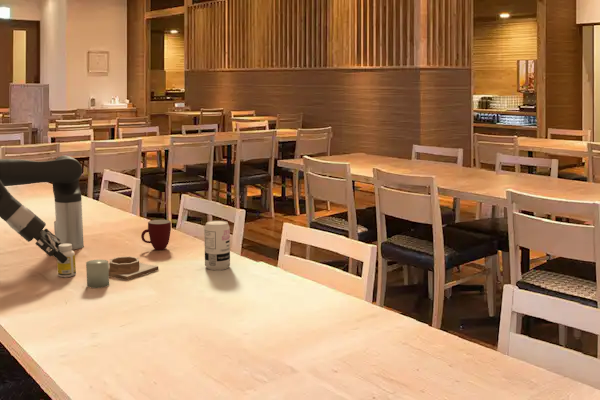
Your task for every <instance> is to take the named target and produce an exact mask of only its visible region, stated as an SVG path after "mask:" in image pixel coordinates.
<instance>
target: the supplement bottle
mask: <svg viewBox="0 0 600 400" xmlns="http://www.w3.org/2000/svg"><path fill="white" fill-rule="evenodd" d="M71 249H72V244H68V243H66V244H60V245H59V250H60V252H61V253H63V254H64V255H65V256H66V257H67V258H68V259H67V260H66V261H65V262H64V263H61V262H60V261H59V260H58V259H56V265H57V266H56V267H57V276H58V277H59V278H68V277H69V278H70V277H71V278H72V277H73V276H75V275H76V274H77V271H76V268H77V267H76V254H75V251H74V250H71Z"/></svg>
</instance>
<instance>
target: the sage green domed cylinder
mask: <svg viewBox="0 0 600 400" xmlns="http://www.w3.org/2000/svg"><path fill="white" fill-rule="evenodd" d="M108 263H109V261H108V260H107V259H91V260H88V261H86V262H85V264H86V265H85V267H86V271H85V272H86V286H87V287H88V288H90V287H91V289H102V288H106V287H108V286H110V277H109V265H108ZM101 287H102V288H101Z"/></svg>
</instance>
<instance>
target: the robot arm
mask: <svg viewBox="0 0 600 400" xmlns="http://www.w3.org/2000/svg"><path fill="white" fill-rule="evenodd" d="M82 175H83V166H82V164H81V163H80V161H78V160H77V159H75V157H73V156H69V155H65V154H64V155H61V156H58V157H56V158H55V159H51V160H45V161H44V160H42V161H41V160H40V161H39V160H37V161H36V160H31V159H30V160H28V159H21V158H19V159H18V158H17V159H16V158H0V219H2V220H3V221H4V222H6V224H7V225H8V226H9V227H10V228H11V229H12V230H14V231H15V232H16V233H17V234H18V235H20V237H22V238H23V239H24V240H25V241H27V242H31V241H33V240H34V239H35V241H36V242H35V245H36V246H38V248H39V249H41V250H42V251H43V252H44V253H45V254H46V255H47V256H48V257H54V258H55V259H56V260H57V259H58V260H59V261H60V262H61V263H64V262H65V261H66V260H67V259H68V258H67V257H66V256H65V255H64V254H63V253H61V252H60V250H59V245H60V244H66V243H68V244H72V249H71V250H72V251H74V250H77V249H81V248H83V247H85V246H84V245H85V244H84V242H85V241H84V225H83V224H84V223H83V205H82V204H83V202H82V192H81V188H80V178H81V176H82ZM36 183H52V192H53V197H54V209H55V212H54V214H55V220H54V222H53V229H54V233H52V231H50V230H49V229H48V228H46V222H45V221H44V220H42V219H41V218H40V217H39V216H38V215H37V214H35V213H34V212H33V211H32V210H31V209H30V208H28V207H26V206H25V205H24V204H23V203H21V202H20V201H19V200H18V199H16V197H14V196H13V195H12V194H11V193H10V192H9V190H8V189H7V188H6V187H12V186H21V185H30V184H36Z"/></svg>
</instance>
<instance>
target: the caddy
mask: <svg viewBox="0 0 600 400" xmlns="http://www.w3.org/2000/svg"><path fill="white" fill-rule="evenodd" d="M108 265H109V278H115V279H119V280H124V281H129V280H132V279H136V278H139V277H142V276H144V275H147V274H150V273H153V272H156V271H159V265H154V264H148V263H144V262H140V258H139V257H135V256H131V255H130V256H117V257H114V258H110V259H109V261H108Z"/></svg>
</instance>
